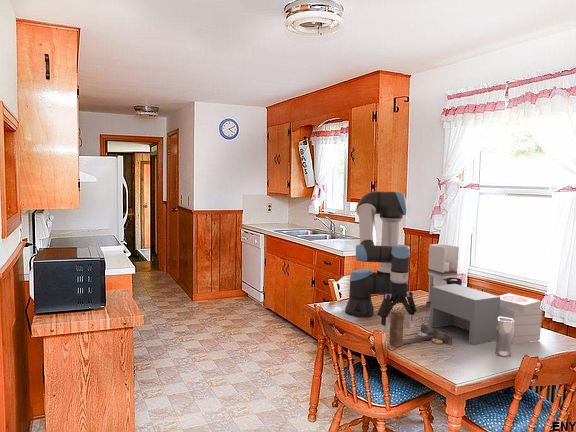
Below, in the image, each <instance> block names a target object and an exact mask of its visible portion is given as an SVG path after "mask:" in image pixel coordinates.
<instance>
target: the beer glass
mask: <svg viewBox="0 0 576 432" xmlns="http://www.w3.org/2000/svg"><path fill="white" fill-rule="evenodd" d="M495 333H496V340H495V341H496V347H495V351H494V355H496V356H498V357H502V358H510V357H511V356H512V353H511V346H512V343H511V342H512V339H513V335H514V320H513V319H511V318H506V317H498V318H497V321H496V328H495Z"/></svg>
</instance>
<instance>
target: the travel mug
mask: <svg viewBox="0 0 576 432" xmlns="http://www.w3.org/2000/svg"><path fill="white" fill-rule="evenodd" d="M449 284H458V285H461V286H463V280H462V279H461V278H458V277H457V278H447V283H446V285H449Z"/></svg>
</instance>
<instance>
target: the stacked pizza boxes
mask: <svg viewBox="0 0 576 432" xmlns="http://www.w3.org/2000/svg"><path fill="white" fill-rule="evenodd" d="M498 296H499V297H500V308H499V317H506V318H511V319H513V320H514V335H513V339H512V342H511V345H512V344H513V345H514V344H515V343H516V344H524V343H523V342H529V343H531V342H530V341H538V340H540V338H541V329H542V328H541V327H542V318H543V317H542V315H543V309H541V300H539V299H535V298H531V297H527V296H523V295H522V296H521V295H518V294H514V293H504V294H501V295H498ZM540 341H541V340H540Z"/></svg>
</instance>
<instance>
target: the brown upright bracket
mask: <svg viewBox="0 0 576 432" xmlns="http://www.w3.org/2000/svg"><path fill="white" fill-rule="evenodd" d="M404 320H405V314H404V313H403V312H401V311H399V310H393V311H392V310H391V311H390V321H389V339H388V341H389V342H388V343H389V344H390V345H392V346H394V347H397V348H399V347H403V345H405V344H412V343H417V342H421V341H428V340H432V338H433V337H439V338H442V339H443V340H444V342H443V343H445V344H448V345H452V344H453V336H452V335H450V334H448V333H445V332H443V331H441V330H438V329H436V328H431V327H429V325H426V324H424V323H420V327H419V328H420V329H419V331H425V332H428V333H429V335H428V336H422V337H419V336H417V337H412V338H407V339H406V338H404V327H405V326H404V322H405V321H404Z"/></svg>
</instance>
